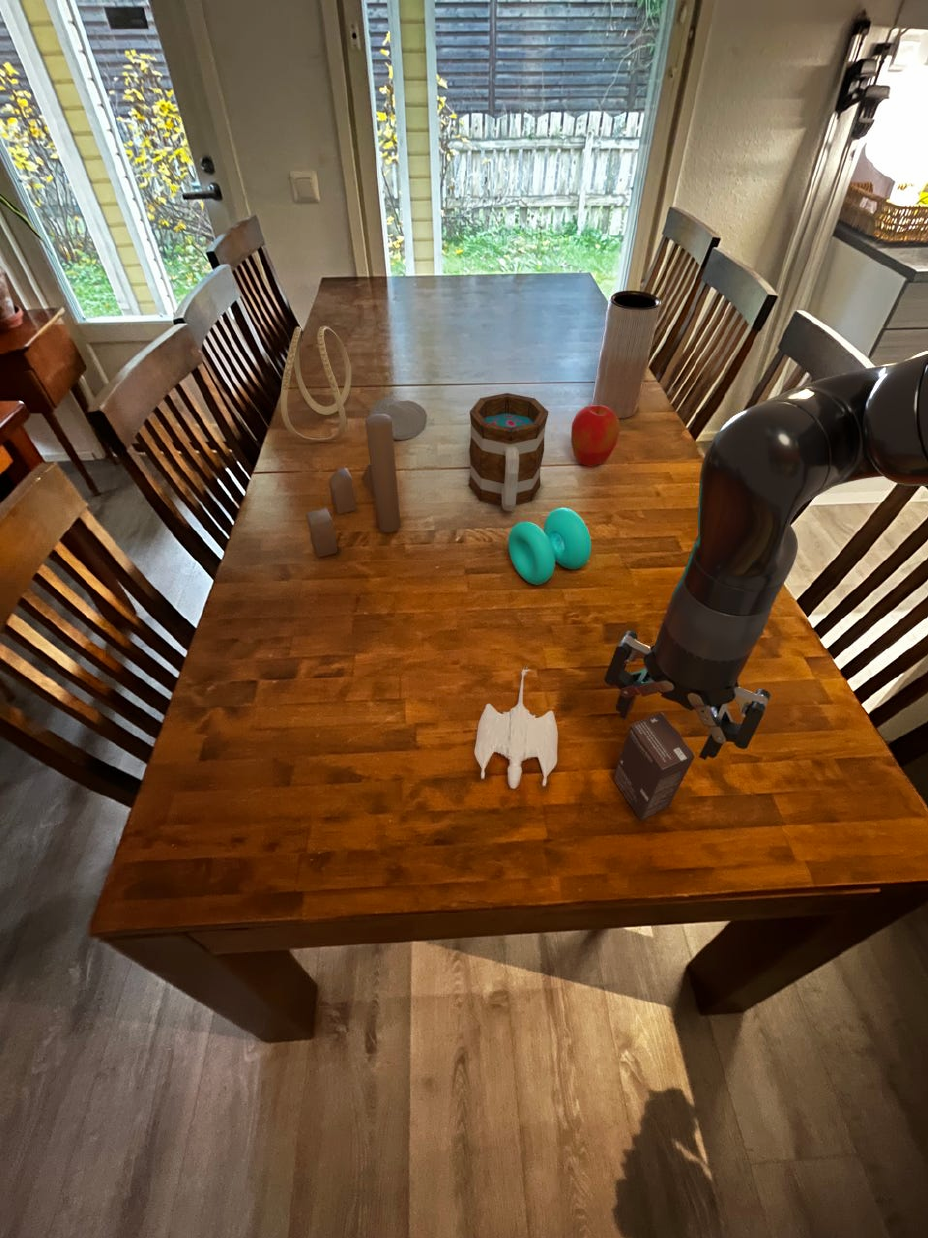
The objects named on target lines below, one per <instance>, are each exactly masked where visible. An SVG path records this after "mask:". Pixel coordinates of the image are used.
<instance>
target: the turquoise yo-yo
mask: <svg viewBox="0 0 928 1238" xmlns="http://www.w3.org/2000/svg"><path fill="white" fill-rule="evenodd" d="M507 546H508V552H509V556H510V559H511V562H512V565H513V567H514V568H515V570H516V571H517V573H518V574H519V576H521V578H522V579H523V580H525V581H526V582H527V583H529V584H532V585H542V584H545V583H546V582H548V581H549V580H550V579H551V577H552V576H553V574H554V571H555V567H556V563H557V564H558V565H560V566H561V567H563V568H566V569H569V570H578V569H580V568H582V567H583V566H585V565H586V564H587V563H588V561H589V559H590V556H591V554H592V538H591V534H590V531H589V529H588V527H587V525H586V523H585V522H584V520H583V518H582V517H581V516H580V515H579V514H578V513H577V512H575V511H574V510H572V508H568V507H557V508H554V509H553V510H552V511H550V512H549V514H548V515H547V516H546V519H545V521H544V525H543V529H542V528H541V527H540V526H539V525H537V524H536V523H533V522H531V521H520V522H518V523H516V524H514V526H512V528H511V530H510V531H509V534H508V540H507Z"/></svg>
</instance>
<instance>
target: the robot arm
mask: <svg viewBox="0 0 928 1238" xmlns="http://www.w3.org/2000/svg"><path fill="white" fill-rule="evenodd" d="M882 477H884V478H886V479H887V480H888V481H891V482H893V483H895V484H898V485H902V486H908V487H927V486H928V350H926V351H924V352H921V353H917V354H916V355H913V356H911V357H908V358H906V359H904V360H902V361H900V362H894V363H887V364H883V365H878V366H873V367H868V368H863V369H858V370H853V371H848V372H844V373H839V374H837V375H832V376H828V377H825V378H822V379H818V380H815V381H811V382H809V383H805V384H802V385H799V386H797V387H794V388H791V389H788V390H787V391H785V392H782V393H780V394H778V395H775V396H773V397H771V398H768V399H767V400H764V401H762V402H759V403H757V404H755V405H752V406H750V407H747V408H746V409H744V410H741V411H740V412H737V413H736V414H735V415H733V416H732V417H730V418H729V419H728V420H727V421H726V422H725V423H724V424H723V425H722V426H721V427H720V429H719V430H718V431H717V432H716V434H715V436H714V438H713V439H712V441H711V442H710V444H709V446H708V447H707V450H706V452H705V455H704V457H703V460H702V464H701V467H700V473H699V484H698V485H699V486H698V487H699V488H698V503H697V504H698V505H697V536H696V538H695V541H694V542H693V545H692V548H691V551H690V554H689V556H688V560H687V562H686V566H685V567H684V570H683V573H682V575H681V577H680V579H679V580H678V582H677V584H676V586H675V588H674V590H673V591H672V594H671V597H670V600H669V603H668V605H667V608H666V611H665V615H664V618H663V621H662V623H661V625H660V628H659V631H658V634H657V637H656V640H655V643H654V645H652V646H651V647H650V646H648V645H646V644H644V643H642V642H640V641H638V639H639V635H638V633H636V632H635V631H633V630H627V631H626V632H625V634H624V635H623V637H622V638H621V640H620V641H619V642H618V644H617V646H616V648H615V650H614V652H613V655H612V658H611V660H610V662H609V665H608V667H607V670H606V673H605V675H604V679H603V681H604V683H605V684H606V685H608V686H611V687H614V686H615V687H616V688H617V689H618V690H619V694H618V698H617V701H616V704H615V711H617V712H618V713H619V715H618V718H620V719H622V720H623V721H626V720H627V718H628V716H629V715H630V712H631V710H632V709H633V707H634V704H635V702H636V699H637V696H641V697H642V698H644V697H647V696H652V695H654V694H660V697H661V698H663V699H666V700H667V701H671V702H674V703H676V704H678V705H680V706H681V707H683V708H684V709H687V710H689V711H692V712H693V710H695V712H696V714H697V716H698V718H699V720H700V722H701V724H702V727H705V728H707V729H708V731H709V734H708V736H707V738H706V740H705V742H704V744H703V746H702V748H701V750H700V752H699V755H698V758H700V759H702V760H704V761H706V760H707V759H708V757H709V758H711V759H714V758H717V756H718V754H719V752H720V751H721V749H722V747H723V746H724V744H725V743H728V742H729V743H733V744H734V746H735V747H736V748H738V749H741V750H746V749H747V748H748V747H749V745H750V743H751V741H752V739H753V737H754V735H755V732H756V731H757V729H758V727H759V725H760V722H761V720H762V718H763V717H764V713H765V712H766V709H767V707H768V704H769V702H770V699H771V693H770V692H769V691H768V690H766V689H763V688H759V689H757V690H756V691H755V692H753V691H750V690H749V689H745V688H743V687H740V686H739V682H738V679H739V677H740V675H741V674H742V671H743V670H744V668H745V666H746V664H747V663H748V660H749V658H750V656H751V655H752V652H753V650H754V648H755V647H756V645H757V643H758V642H759V639H760V638H761V637H762V636H763V633H764V631H765V628H766V626H767V624H768V621H769V618H770V615H771V610H772V608H773V606H774V604H775V601H776V599H777V598H778V595H779V594H780V591H781V590H782V589H783V588H782V587H783V586H784V584H785V582H786V580H787V578H788V576H789V575H790V573H791V570H792V568H793V567H794V564H795V561H796V558H797V554H798V551H799V543H798V538H797V537H798V536H797V534H796V531H795V530H794V528H793V527H792V526H791V523H792V521H793V519H794V518H795V516H796V514H797V513H798V512H799V510H800V509H801V508H802V506H803V505H804V504H806V503H808V502H809V501H811V500H812V499H814V498H816V497H818V496H820V495H822V494H823V493H826V492H827V491H829V490H831V489H832V488H834V487H836V486H840V485H843V484H848V483H851V482H856V481H860V480H866V479H873V478H882ZM639 659H641V660H642V662H643V665H644V668H643V669H640V670H636V671H633V672H631V673H630V672H629V671H627V670H626V667H627V665H628V664H630V663H634V662H636V661H637V660H639ZM732 702H736V703H737V705H738V711H739V712H740V717H741V718H743V719H742V722H741V723H737V722H734V719H733V716H732V715H731V713H730V711H729V709H728V708H729V705H728V704H730V703H732Z"/></svg>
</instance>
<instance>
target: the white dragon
mask: <svg viewBox="0 0 928 1238" xmlns="http://www.w3.org/2000/svg"><path fill="white" fill-rule="evenodd" d="M527 668H528V667H526V668H525V665H524V667H523V669H522V670H521V673H520V675H521V681H520V688H519V695H518V701H517V703H516V705H515V706H514V707H512V708H510V710H509V711H502V713H501V712H499V711H497V709H495V707H493V705H492V704H491V703H487V704H486V705H485V707H484V709H483V711H482V713H481V716H480V718H479V721H478V725H477V730H476V740H475V744H474V751H473V753H474V756H475V759H476V761H477V763H478V764H479V766H480V768H481V773H480V778H481V780H484V779H485V776H486V773H485V769H486V767H487V766H488V764H489V762H490V760H491V758H492V756H493V755H494V754H495V753H498V755H499V754H500V755H501V756H503V757H504V758H505V759H507V760H508V763H509V765H508V767H507V784H508V786H509V787H510V789H516V788H517V787H518V786H519V784H520V781H521V779H522V778H521V777H522V774H523V769H522V768H523V767H522V764H523V761H526V760H530V759H531V758H537V760H538V763H539V765H540V769H541V771H542V775H543V778H542V787H546V785H547V777H548V776H549V774H550V773H551V772H552V771H553V769H554V768H555V767H556V766H557V763H558V744H559V743H558V741H559V732H558V726H557V721H556V717H555V714H554V711H552V710H549V711H547V712H546V713H545V714H543V715H541V716H539V717H536V716H537V714H532V713H530V710H529V709H528V708H526V707H525V704H524V703H523V702H524V701H523V699H524V677H525V676H526V675H528V672H530V671H532V669H527Z"/></svg>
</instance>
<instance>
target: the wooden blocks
mask: <svg viewBox="0 0 928 1238" xmlns="http://www.w3.org/2000/svg"><path fill="white" fill-rule="evenodd" d="M364 422H365V429H366V439H367V447H368V456H369V463H368V464H367V466H366V468H365V470H364V471H363V474H362V476H361V479H362V481H363V483H364V485H365V486H366V488H367V491H368V492H369V494H370V496H371V498H372V499H374V508H375V518H376V524H377V529H378V530H379V531H380V532H382V533H394V532H396V531H398V530H399V529H400V527H401V515H400V504H399V503H400V502H399V491H398V478H397V477H398V476H397V466H396V454H395V440H393V428H392V419H391V417H390V416H388V415H386V414H373V415H370V414H369V415H368V416H367V417H366V419H365V421H364ZM328 485H329V491H330V497H331V502H332V505H333V509H334V510H335V512H336V514H337V515H342V514H346V513H351V512H355V511H356V510H357V504H356V499H355V492H354V484H353V478H352V475H351V473H350V472H349V470H348V468H347V467H343V468H338V469H336V470H335V471H334V472H333V474H332V475H331V477H330V478H329V479H328ZM328 510H329V509H328V508H321V509H317V510H312V511H309V512H308V511H307V512H306V514H305V516H306V521H307V526H308V530H309V534H310V539H311V544H312V548H313V550H314V552H315V554H316V557H317V558H323V557H327V556H328V557H329V556H331V555H335V554H337V553H338V552H339V551H338V543H337V539H336V533H335V532H336V531H335V528H334V527H335V526H334V521H333V517H332V516H331V514H330V513H329V511H328Z"/></svg>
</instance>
